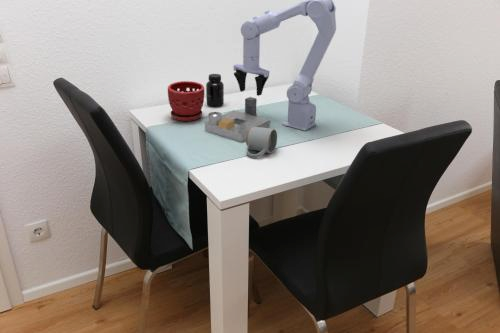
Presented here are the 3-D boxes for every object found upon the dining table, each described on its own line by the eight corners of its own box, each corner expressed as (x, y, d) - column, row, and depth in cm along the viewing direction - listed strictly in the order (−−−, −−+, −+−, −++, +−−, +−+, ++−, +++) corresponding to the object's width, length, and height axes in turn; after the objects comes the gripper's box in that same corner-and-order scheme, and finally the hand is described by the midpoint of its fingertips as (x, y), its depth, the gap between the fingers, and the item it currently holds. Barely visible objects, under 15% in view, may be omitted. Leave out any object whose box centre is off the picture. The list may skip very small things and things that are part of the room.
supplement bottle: (204, 106, 185) (202, 76, 180) (210, 101, 191) (209, 72, 186) (220, 108, 183) (219, 78, 178) (226, 103, 189) (225, 73, 184)
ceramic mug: (254, 143, 154) (254, 121, 150) (277, 147, 151) (278, 125, 147) (240, 156, 145) (240, 133, 142) (264, 161, 142) (265, 138, 139)
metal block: (256, 116, 176) (256, 98, 173) (251, 118, 174) (251, 100, 171) (249, 114, 178) (250, 96, 174) (245, 116, 175) (245, 98, 172)
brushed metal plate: (269, 127, 166) (270, 111, 163) (241, 142, 154) (241, 125, 152) (233, 118, 174) (233, 102, 172) (205, 130, 163) (204, 114, 160)
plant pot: (163, 121, 171) (160, 89, 165) (179, 109, 182) (177, 79, 177) (196, 125, 167) (194, 93, 162) (210, 113, 178) (209, 82, 173)
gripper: (274, 56, 165) (273, 94, 171) (241, 50, 172) (241, 86, 178) (263, 60, 160) (262, 98, 166) (229, 54, 167) (230, 91, 173)
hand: (250, 92), depth 172 cm, fingers open, 7 cm apart
